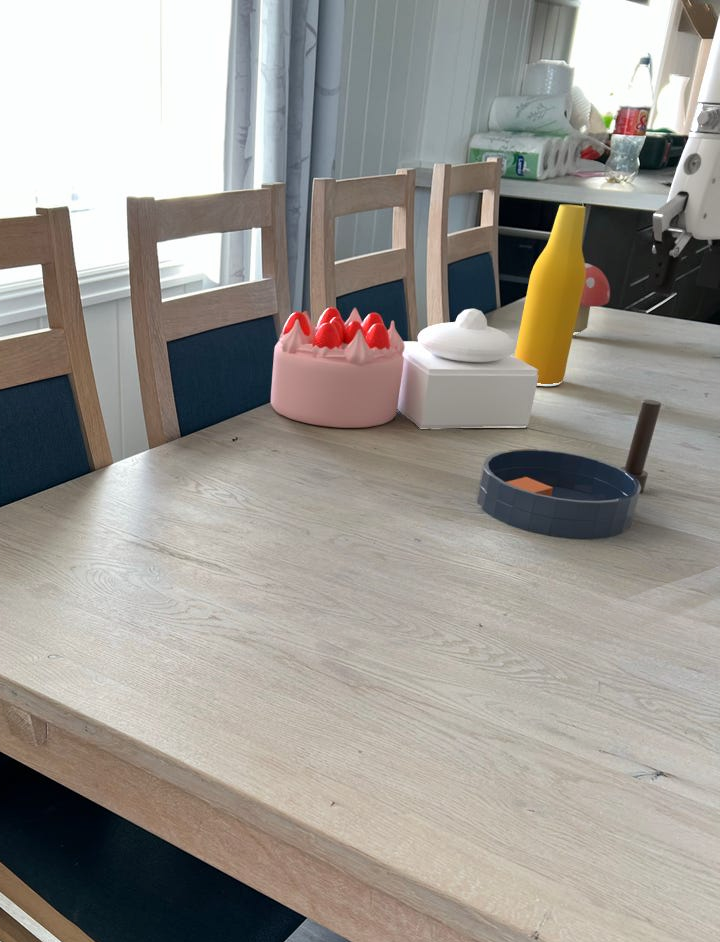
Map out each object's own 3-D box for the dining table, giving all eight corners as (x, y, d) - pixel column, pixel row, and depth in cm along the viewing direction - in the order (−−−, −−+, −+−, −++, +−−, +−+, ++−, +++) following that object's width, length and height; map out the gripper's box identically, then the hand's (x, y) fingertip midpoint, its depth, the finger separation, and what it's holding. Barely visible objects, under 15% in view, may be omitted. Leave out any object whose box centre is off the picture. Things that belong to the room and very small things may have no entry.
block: (546, 519, 115) (553, 487, 113) (524, 525, 113) (531, 493, 111) (519, 508, 118) (526, 476, 116) (497, 514, 116) (504, 482, 114)
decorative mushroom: (525, 334, 211) (540, 261, 203) (552, 326, 220) (566, 256, 212) (584, 346, 203) (602, 270, 196) (609, 337, 213) (626, 265, 205)
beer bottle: (559, 377, 179) (597, 205, 164) (565, 390, 171) (605, 211, 156) (508, 372, 180) (541, 201, 165) (511, 384, 172) (547, 206, 157)
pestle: (647, 495, 126) (673, 404, 120) (630, 500, 124) (655, 407, 118) (624, 486, 129) (648, 396, 123) (607, 490, 127) (630, 399, 121)
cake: (371, 392, 162) (383, 303, 155) (415, 429, 145) (430, 332, 138) (257, 392, 158) (263, 301, 151) (288, 431, 141) (297, 330, 134)
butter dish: (420, 429, 145) (437, 320, 137) (380, 395, 160) (393, 295, 153) (527, 428, 149) (550, 321, 141) (479, 395, 164) (497, 297, 156)
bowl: (661, 526, 117) (672, 487, 114) (561, 555, 108) (572, 513, 105) (543, 477, 130) (551, 441, 127) (445, 499, 120) (452, 461, 118)
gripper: (713, 124, 98) (667, 300, 107) (804, 130, 107) (754, 292, 116) (650, 119, 104) (610, 287, 112) (741, 125, 112) (698, 281, 121)
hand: (683, 290), depth 114 cm, fingers open, 9 cm apart
